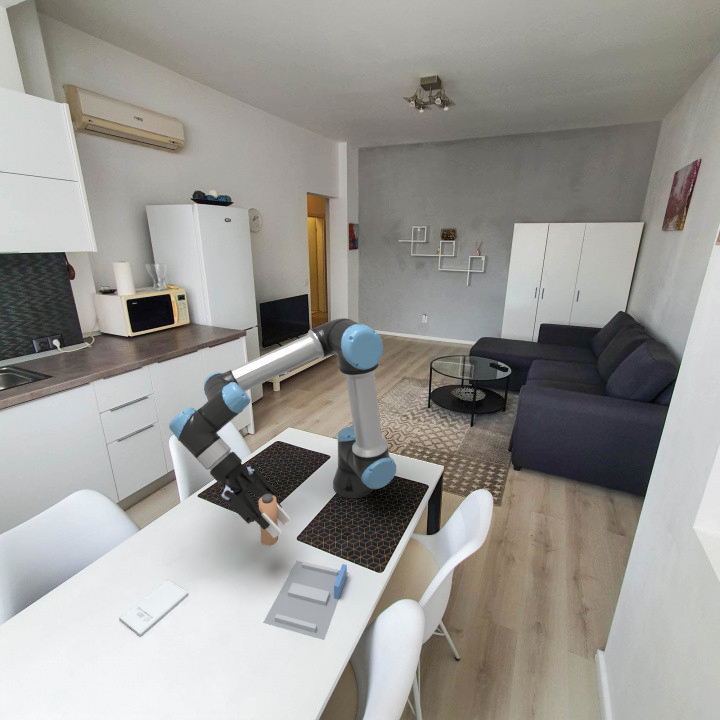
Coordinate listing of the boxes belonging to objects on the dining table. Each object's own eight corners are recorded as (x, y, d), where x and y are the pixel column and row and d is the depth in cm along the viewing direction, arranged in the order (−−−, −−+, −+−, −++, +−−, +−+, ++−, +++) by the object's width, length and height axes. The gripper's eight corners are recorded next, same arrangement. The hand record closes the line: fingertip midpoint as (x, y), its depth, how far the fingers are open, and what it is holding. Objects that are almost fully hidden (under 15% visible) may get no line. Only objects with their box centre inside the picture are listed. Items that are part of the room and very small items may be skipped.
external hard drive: (188, 597, 96) (140, 639, 86) (167, 583, 100) (119, 622, 90) (187, 592, 96) (139, 633, 85) (167, 578, 100) (118, 616, 89)
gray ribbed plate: (263, 626, 89) (262, 609, 87) (296, 563, 106) (296, 548, 105) (324, 643, 85) (323, 626, 84) (348, 576, 103) (348, 560, 101)
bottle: (275, 531, 102) (273, 489, 99) (280, 541, 99) (278, 499, 95) (259, 536, 100) (256, 494, 97) (263, 548, 97) (261, 504, 93)
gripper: (231, 451, 106) (288, 512, 107) (189, 487, 90) (256, 559, 91) (247, 437, 103) (305, 500, 104) (206, 471, 87) (275, 546, 88)
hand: (282, 527), depth 97 cm, fingers closed on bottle, 4 cm apart
